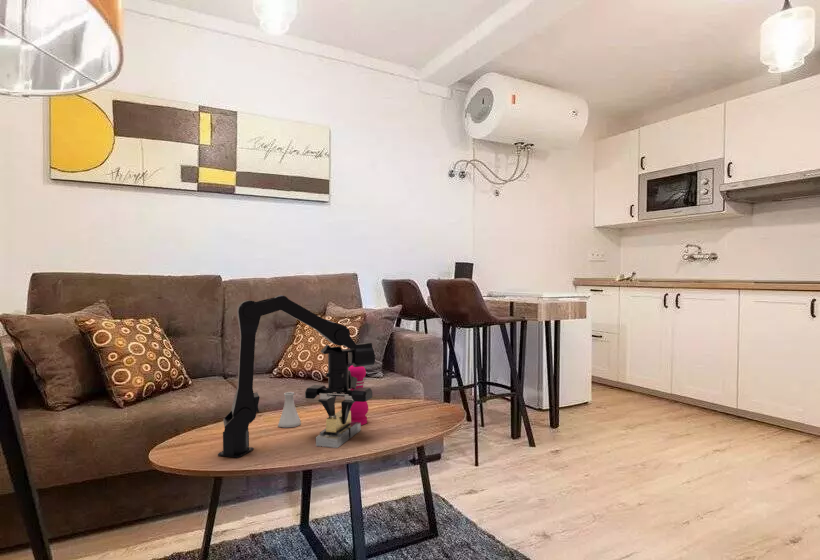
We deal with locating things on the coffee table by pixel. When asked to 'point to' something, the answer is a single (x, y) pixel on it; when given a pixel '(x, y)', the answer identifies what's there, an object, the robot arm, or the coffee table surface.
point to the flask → (289, 412)
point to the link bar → (336, 422)
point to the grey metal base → (338, 435)
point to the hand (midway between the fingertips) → (338, 423)
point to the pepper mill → (357, 407)
